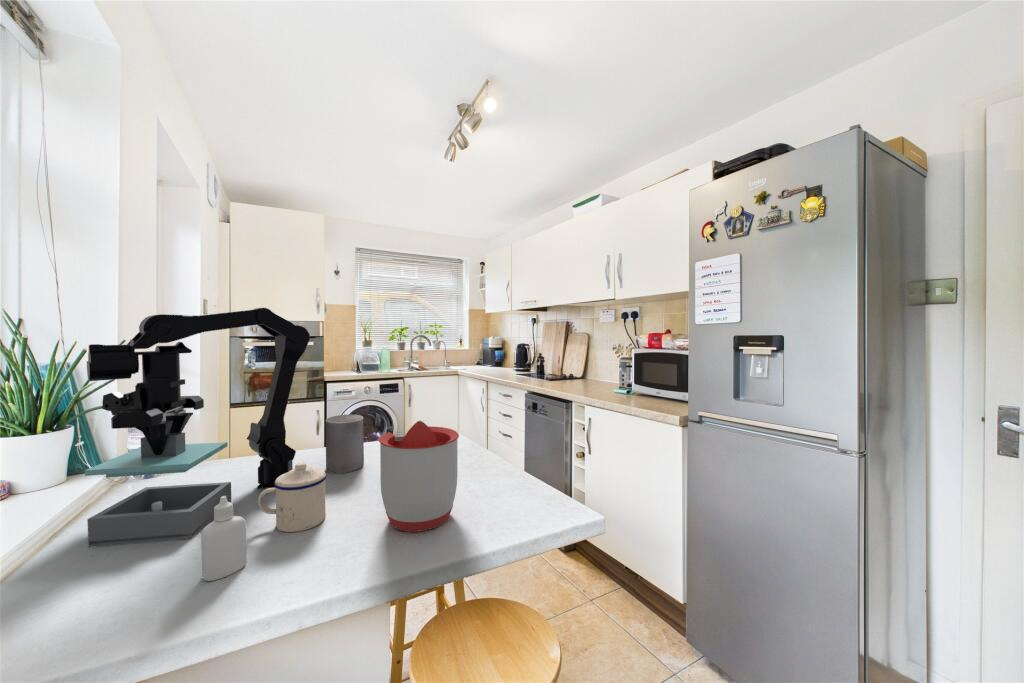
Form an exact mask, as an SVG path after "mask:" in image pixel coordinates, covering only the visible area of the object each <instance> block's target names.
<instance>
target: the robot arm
mask: <svg viewBox="0 0 1024 683" xmlns="http://www.w3.org/2000/svg"><path fill="white" fill-rule="evenodd" d="M251 326H258V327H259V328H261V329H262V330H263V331H264V332H265V333H267V334H269V335H270V336H272V337H273V338H274V351H275V352H274V353H275V359H276V360H275V364H274V368H273V372H272V376H271V380H270V386H269V388H268V389H269V390H268V391H267V392H268V393H267V397H266V402H265V405H264V410H263V413H262V416H261V418H260V419H259V421H258V422H251V423H250V425H249V426H250V430H249V434H248V436H247V437H246V440H248V445H249V447H250V449H251V450H252V451H253V452H255V453H257V455H258V456H259V458H262V459H261V460H259V466H258V467H257V484H258V485H257V487H256V488H257V490H259V489H268V488H276V487H275V486H274V483H275V481H276V479H277V478H278V477H279V476H281V475H282V474H285V473H287V472H289V471H290V470H292V469H294V468H293V467H294V466H293V461H294V460H295V456H296V452H297V450H295V449H294V448H292V447H291V446H289V445H287V443H286V439H287V438H286V436H287V433H286V431H287V430H286V423H285V416H286V410H287V406H288V402H289V397H290V394H291V391H292V390H291V389H292V385H293V382H294V376H295V373H296V369H297V364H298V362H299V360H300V359H301V357H302V356H303V355H304V353H305V352H306V349H307V346H309V345H308V344H309V342H310V340H311V339H310V338H311V335H310V332H309V331H308V330H307V328H305V326H302V325H296V324H294V323H293V322H291V321H289V320H288V319H286V318H283V317H282V316H280V315H278V314H276V313H275V312H273V311H272V310H271V309H270V308H267V307H256V308H254V309H246V310H239V311H230V312H222V313H221V312H220V313H212V314H211V313H210V314H203V315H191V314H189V315H188V314H187V315H186V314H163V313H162V314H153V315H149V316H146V317H144V318H143V319H142V321H140V323H139V326H138V332H137V333H136V335H135V336H134V337H132V338H131V339H130V340H129V341H128V342H127V344H100V343H99V344H97V343H96V344H89V345H88V353H87V360H88V361H86V375H87V381H88V382H97V381H98V382H99V381H100V382H101V381H112V380H126V379H127V380H128V379H132V375H136V373H137V374H138V373H139V370H140V360H139V356H141V368H142V369H141V370H142V371H141V372H142V381H141V382H136V385H135V386H134V387H135V390H134V391H131V392H127V393H124V394H122V392H120V391H114V392H109V393H106V394H103V395H102V401H101V402H102V403H101V404H102V405H101V408H102V410H105V411H107V412H110V413H111V416H112V417H111V418H110V423H111V429H113V430H115V429H137V430H138V431H140V432H141V433H142V434H143V435H144V436H143V437H146V439H147V441H148V443H149V445H150V447H151V449H152V451H153V453H154V455H161V454H162V453H163V450H164V447H165V444H166V441H167V438H168V435H169V433H183V431H184V430H185V427H186V425H187V424H188V422H189V420H190V419H191V417H192V416H193V415H194V412H186V411H187V410H186V409H193V410H195V411H196V410H198V411H199V410H200V409H203V408H204V407H205V406H204V405H205V404H204V403H205V401H204V398H202V397H201V396H200V395H181V386H182V385H186V379H185V378H184V379H183V378H182V379H181V369H180V368H181V363H180V362H181V361H180V354H191V353H193V350H192V349H190V348H189V347H187V346H186V345H185V344H184V342H182V341H180V340H182V339H183V340H184V339H186V338H189V337H193V336H195V335H198V334H201V333H208V332H213V331H214V332H215V331H220V330H221V331H222V330H229V329H234V328H235V329H236V328H243V327H251ZM176 341H177V342H176ZM173 342H176V343H175V344H174V345H157V344H169V343H173ZM155 345H156V347H155V350H151V351H147V350H148V349H149V348H152V347H154V346H155ZM135 350H146V351H135Z"/></svg>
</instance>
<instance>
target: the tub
mask: <svg viewBox="0 0 1024 683" xmlns="http://www.w3.org/2000/svg"><path fill="white" fill-rule="evenodd" d="M222 496H226V498H227V501H228V502H231V503H232V482H231V481H225V482H210V483H209V482H208V483H194V484H180V485H179V484H175V485H162V486H147V487H144V488H142V489H140V490H138V491H136V492H135V493H133V494H131V495H129V496H127V497H126V498H123V499H122V500H120V501H118V502H115V504H113V505H111V506H109V507H107V508H105V509H103V510H101V511H100V512H98V513H96V514H94V515H93V516H91V517H89V518H87V544H88V545H87V547H88V548H95V547H96V548H97V547H107V546H119V545H121V546H122V545H130V544H131V545H133V544H142V543H143V544H144V543H153V542H155V543H157V542H167V541H168V542H169V541H179V540H189V539H190V540H191V539H194V538H195V537H196V536H197V535H198V534H199V533H201V532H202V530H203V529H204V528H205V527H206V526H207V525H209V524H210V523H212V522H213V521H215V520H214V507H215V506H216V505H218V504H219V503H220V498H221V497H222Z"/></svg>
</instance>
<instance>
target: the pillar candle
mask: <svg viewBox="0 0 1024 683" xmlns="http://www.w3.org/2000/svg"><path fill="white" fill-rule="evenodd" d="M364 440H365V439H364V416H362V415H360V414H346V413H344V414H340V415H334V416H331V417H328V418H325V470H326V472H328V473H330V474H346V473H347V474H348V473H351V472H354V471H356V470H359V469H362V468H363V467H364V465H365V458H364V454H365V453H364V450H365V449H364V448H365V447H364V444H365V443H364Z"/></svg>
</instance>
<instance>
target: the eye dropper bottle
mask: <svg viewBox="0 0 1024 683" xmlns="http://www.w3.org/2000/svg"><path fill="white" fill-rule="evenodd" d="M200 533H201V534H200V547H201V548H200V551H201V552H200V553H201V555H200V556H201V559H200V560H201V577H202V579H203V580H204V581H206V582H212V581H216V580H220V579H223V578H225V577H228V576H230V575H233V574H235V573H237V572H238V571H241V570H242V569H243V568H244V567H246V566H247V561H248V559H247V558H248V557H247V556H248V555H247V522H246V520H245V518H244V517H242V516H239V515H234V503H233V502H232V501H231V502H228V501H227V498H226V496H222V497H221V498H220V503H219V504H218V505H216V506H215V507H214V520H213V521H212V522H211V523H210V524H209V525H207V526H206V527H205V528H204V529H203V530H202V531H200Z"/></svg>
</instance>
